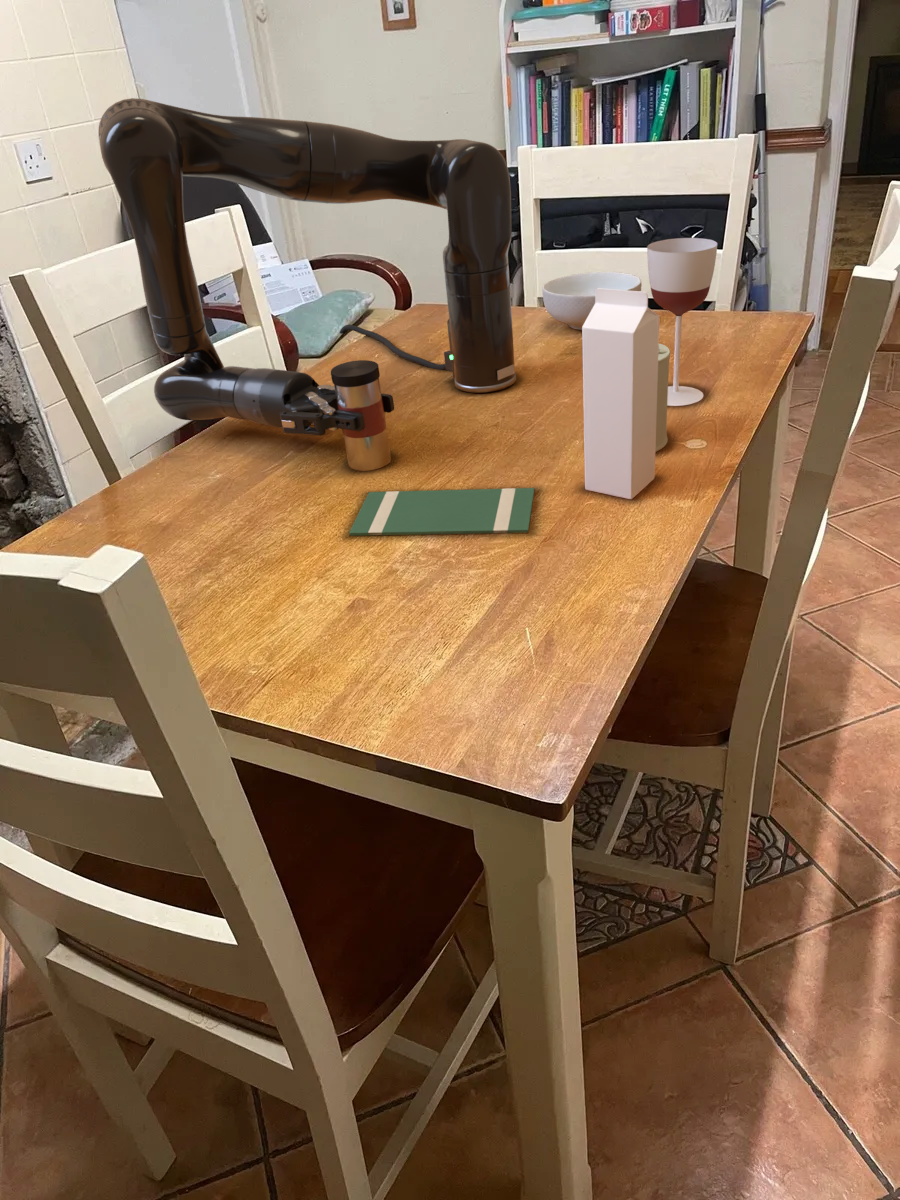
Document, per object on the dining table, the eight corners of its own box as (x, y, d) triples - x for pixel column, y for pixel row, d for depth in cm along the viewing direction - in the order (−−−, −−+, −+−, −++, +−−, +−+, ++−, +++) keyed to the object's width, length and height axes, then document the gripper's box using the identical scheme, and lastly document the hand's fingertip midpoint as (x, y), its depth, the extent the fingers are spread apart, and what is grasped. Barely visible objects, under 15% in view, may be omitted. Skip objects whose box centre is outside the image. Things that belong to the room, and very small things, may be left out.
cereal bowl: (659, 316, 153) (660, 274, 149) (605, 344, 144) (604, 300, 140) (580, 305, 163) (579, 266, 160) (524, 331, 154) (522, 290, 150)
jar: (339, 461, 115) (322, 369, 108) (378, 448, 117) (364, 356, 110) (360, 475, 110) (344, 380, 103) (400, 461, 113) (386, 367, 106)
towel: (369, 494, 105) (368, 491, 105) (534, 490, 102) (534, 487, 102) (349, 535, 97) (348, 532, 97) (528, 533, 94) (528, 529, 94)
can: (667, 456, 106) (671, 359, 99) (591, 457, 108) (589, 362, 101) (667, 426, 113) (670, 334, 107) (595, 427, 115) (594, 337, 109)
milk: (609, 470, 105) (608, 280, 93) (655, 479, 101) (661, 283, 89) (583, 490, 101) (580, 295, 89) (631, 500, 97) (634, 299, 85)
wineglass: (696, 409, 117) (705, 253, 106) (635, 402, 121) (637, 251, 110) (715, 388, 122) (725, 238, 111) (655, 382, 127) (660, 237, 116)
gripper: (232, 390, 110) (337, 405, 102) (305, 353, 120) (406, 364, 111) (246, 445, 114) (347, 464, 106) (315, 405, 124) (413, 420, 115)
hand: (377, 412), depth 109 cm, fingers closed on jar, 5 cm apart
